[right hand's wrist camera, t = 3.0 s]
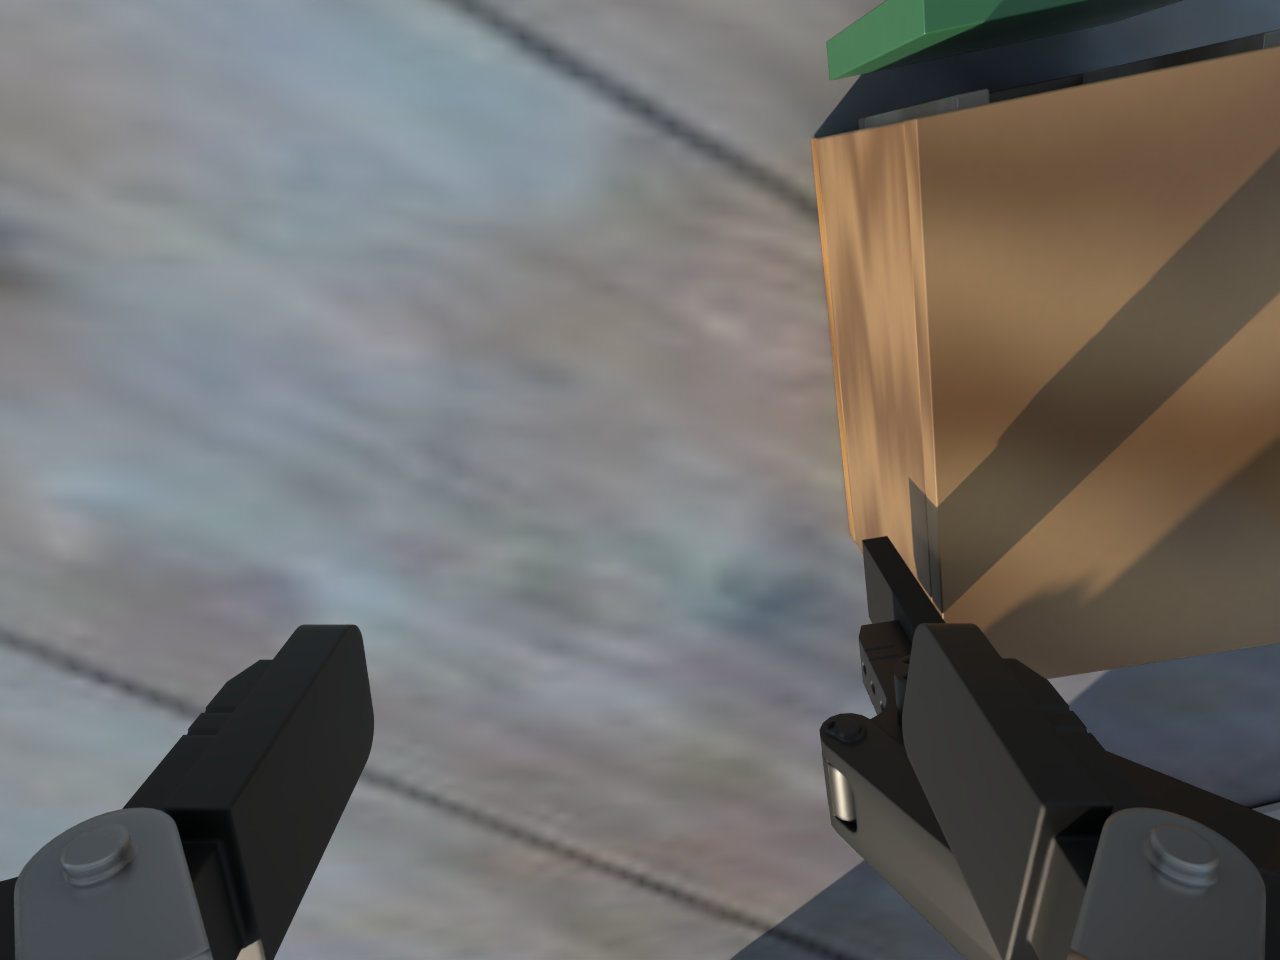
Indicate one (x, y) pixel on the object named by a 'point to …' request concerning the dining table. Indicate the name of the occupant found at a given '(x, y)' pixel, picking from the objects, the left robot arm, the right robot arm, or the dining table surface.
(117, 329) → the dining table surface
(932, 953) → the dining table surface
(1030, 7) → the drawer
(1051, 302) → the open wooden box
